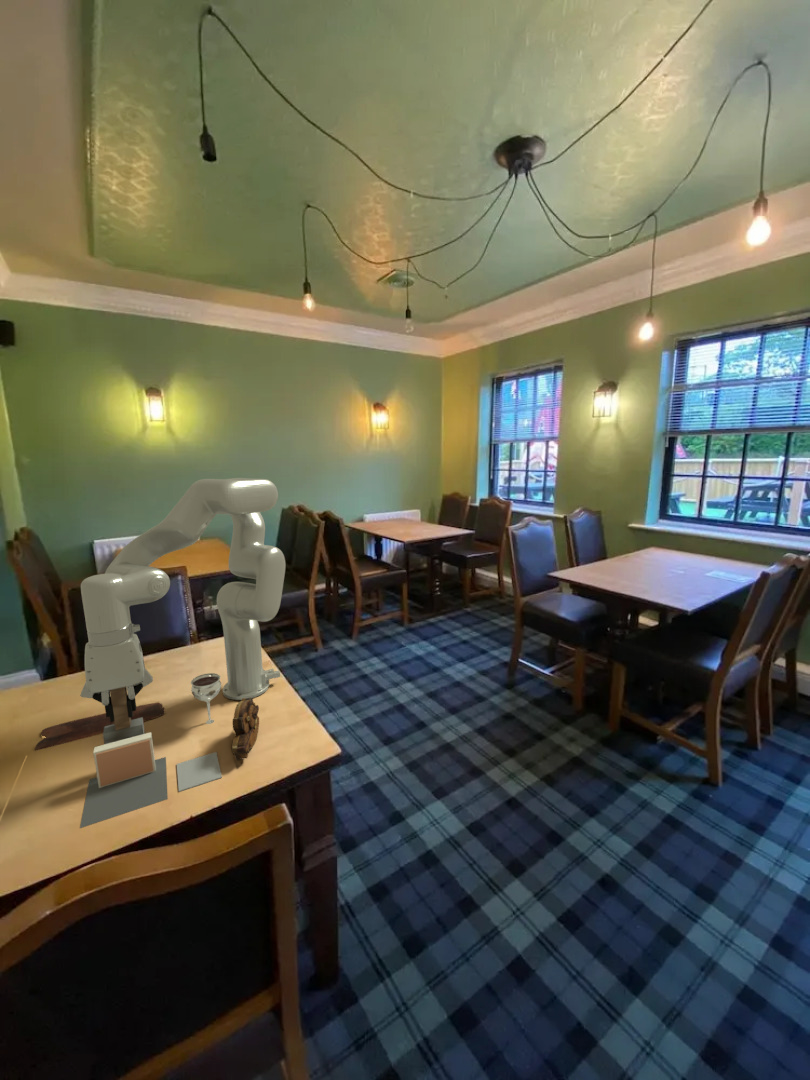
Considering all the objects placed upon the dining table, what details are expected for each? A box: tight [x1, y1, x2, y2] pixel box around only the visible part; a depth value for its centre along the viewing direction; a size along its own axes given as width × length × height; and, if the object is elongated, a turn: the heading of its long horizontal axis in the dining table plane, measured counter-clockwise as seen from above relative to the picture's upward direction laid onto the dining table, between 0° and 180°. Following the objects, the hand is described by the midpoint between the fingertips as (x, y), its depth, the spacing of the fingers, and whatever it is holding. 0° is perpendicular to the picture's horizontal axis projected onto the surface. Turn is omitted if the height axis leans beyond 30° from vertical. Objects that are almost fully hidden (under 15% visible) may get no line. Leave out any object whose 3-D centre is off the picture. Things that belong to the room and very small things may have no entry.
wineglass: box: [190, 672, 222, 725], centre depth 111 cm, size 7×7×12 cm
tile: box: [92, 732, 156, 788], centre depth 92 cm, size 10×2×8 cm, turn 119°
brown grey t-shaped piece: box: [102, 687, 146, 745], centre depth 94 cm, size 7×3×15 cm, turn 118°
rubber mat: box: [79, 756, 169, 829], centre depth 90 cm, size 14×14×1 cm
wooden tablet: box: [34, 702, 165, 751], centre depth 112 cm, size 26×2×10 cm
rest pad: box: [176, 751, 223, 793], centre depth 95 cm, size 8×9×1 cm
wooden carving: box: [231, 697, 260, 761], centre depth 103 cm, size 16×5×10 cm, turn 12°
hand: (122, 715), depth 94 cm, fingers closed on brown grey t-shaped piece, 2 cm apart
